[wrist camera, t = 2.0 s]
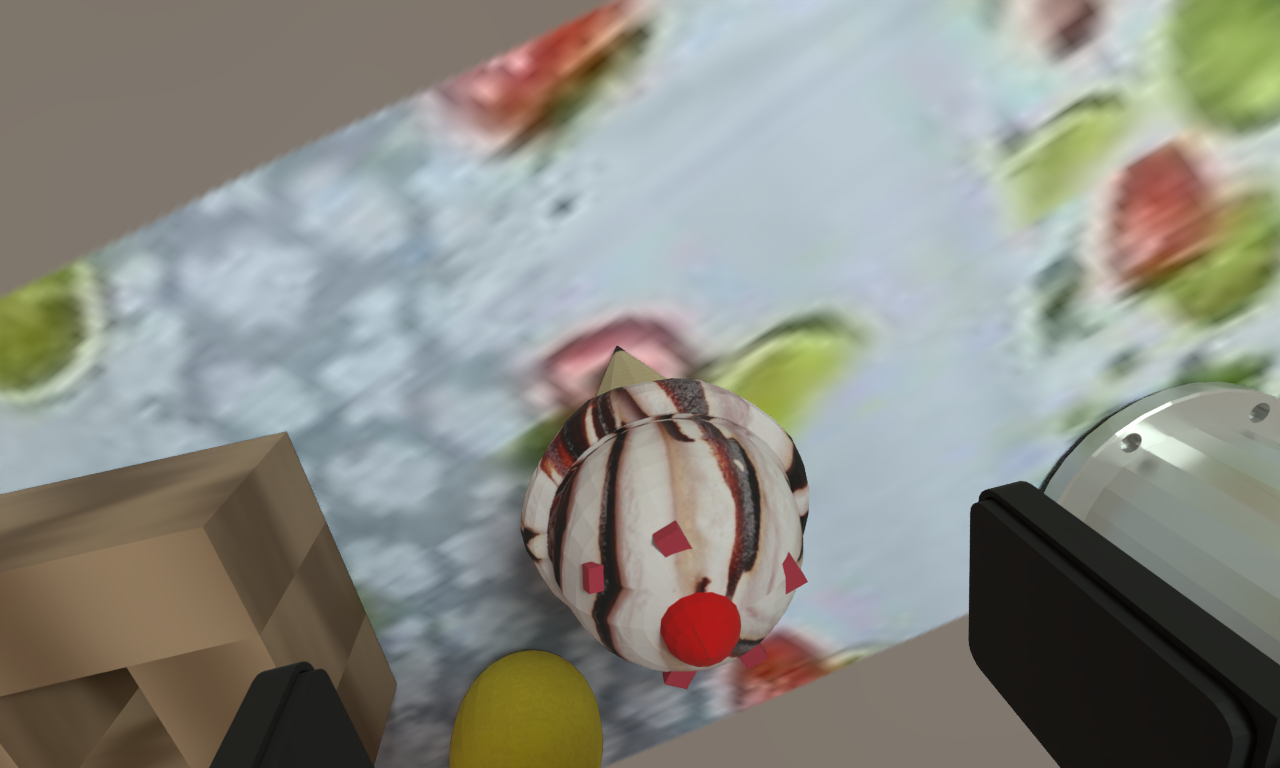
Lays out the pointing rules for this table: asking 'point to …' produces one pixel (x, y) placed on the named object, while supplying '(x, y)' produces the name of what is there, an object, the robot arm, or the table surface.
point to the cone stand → (171, 609)
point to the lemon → (528, 716)
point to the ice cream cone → (670, 521)
